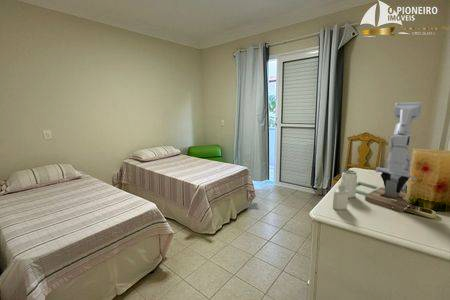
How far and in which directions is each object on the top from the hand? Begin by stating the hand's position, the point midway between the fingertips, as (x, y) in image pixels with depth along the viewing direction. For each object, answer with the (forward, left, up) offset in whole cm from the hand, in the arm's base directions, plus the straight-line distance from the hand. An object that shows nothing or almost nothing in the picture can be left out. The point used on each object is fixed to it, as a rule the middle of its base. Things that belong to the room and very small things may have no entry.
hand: (392, 190), depth 94 cm
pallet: (0, 0, -5) cm, 5 cm away
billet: (0, 0, -2) cm, 2 cm away
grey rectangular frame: (-4, -14, -5) cm, 15 cm away
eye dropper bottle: (+26, -10, -5) cm, 28 cm away
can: (+10, -15, -5) cm, 18 cm away
